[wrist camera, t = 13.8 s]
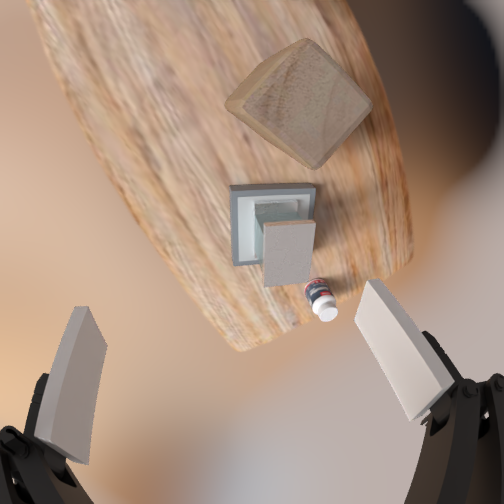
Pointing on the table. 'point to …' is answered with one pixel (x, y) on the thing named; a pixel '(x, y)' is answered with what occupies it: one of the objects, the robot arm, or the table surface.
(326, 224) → the table surface
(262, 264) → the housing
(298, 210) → the stand
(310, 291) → the pill bottle
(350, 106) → the wooden block
